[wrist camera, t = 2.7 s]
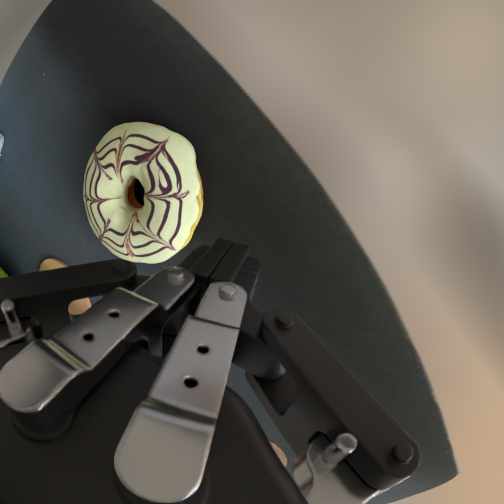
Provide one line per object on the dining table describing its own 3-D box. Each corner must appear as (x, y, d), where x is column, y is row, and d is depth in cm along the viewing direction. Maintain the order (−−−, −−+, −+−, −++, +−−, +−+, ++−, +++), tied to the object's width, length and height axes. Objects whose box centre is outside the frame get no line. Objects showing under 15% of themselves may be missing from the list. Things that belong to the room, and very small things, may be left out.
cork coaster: (40, 243, 26) (38, 244, 26) (94, 284, 26) (92, 286, 26) (42, 300, 30) (41, 302, 30) (91, 339, 30) (89, 341, 30)
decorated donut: (212, 117, 18) (192, 113, 14) (213, 256, 22) (196, 278, 18) (101, 130, 19) (71, 132, 16) (110, 245, 24) (86, 261, 20)
